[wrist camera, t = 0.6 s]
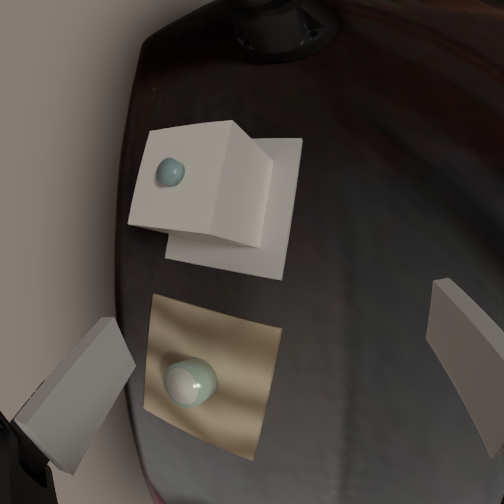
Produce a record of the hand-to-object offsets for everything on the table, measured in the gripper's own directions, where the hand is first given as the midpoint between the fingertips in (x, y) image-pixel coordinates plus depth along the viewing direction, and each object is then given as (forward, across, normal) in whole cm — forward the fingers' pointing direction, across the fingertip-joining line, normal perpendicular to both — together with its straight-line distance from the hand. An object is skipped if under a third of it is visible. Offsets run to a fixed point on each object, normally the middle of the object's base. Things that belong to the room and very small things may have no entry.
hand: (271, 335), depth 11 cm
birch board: (+17, -12, -18) cm, 27 cm away
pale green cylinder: (+16, -12, -18) cm, 27 cm away
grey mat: (+25, -6, +2) cm, 26 cm away
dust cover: (+25, -6, +2) cm, 26 cm away
